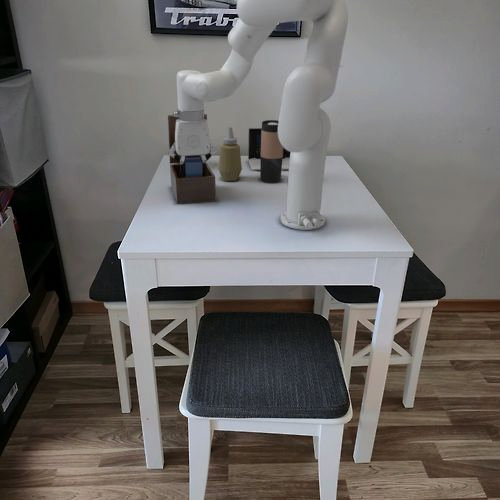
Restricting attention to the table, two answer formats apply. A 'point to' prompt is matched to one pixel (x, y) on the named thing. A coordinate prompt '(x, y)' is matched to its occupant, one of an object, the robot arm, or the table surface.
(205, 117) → the lid
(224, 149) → the squeeze bottle
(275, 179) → the travel mug
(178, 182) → the box
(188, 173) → the block
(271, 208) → the table surface
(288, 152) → the laptop
